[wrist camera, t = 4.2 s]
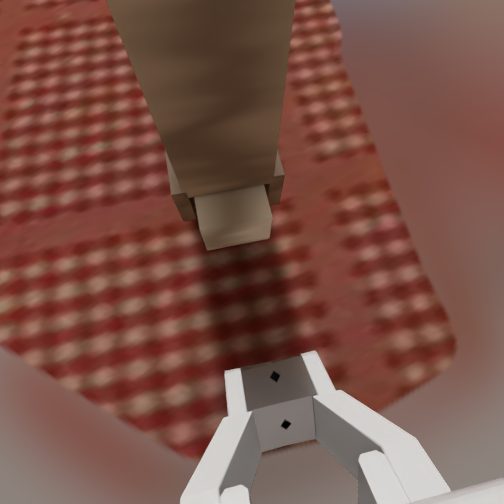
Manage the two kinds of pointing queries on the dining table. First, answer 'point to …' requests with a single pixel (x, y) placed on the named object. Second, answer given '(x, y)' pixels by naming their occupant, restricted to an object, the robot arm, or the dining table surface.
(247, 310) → the dining table surface
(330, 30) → the dining table surface
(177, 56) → the plate
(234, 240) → the seesaw
